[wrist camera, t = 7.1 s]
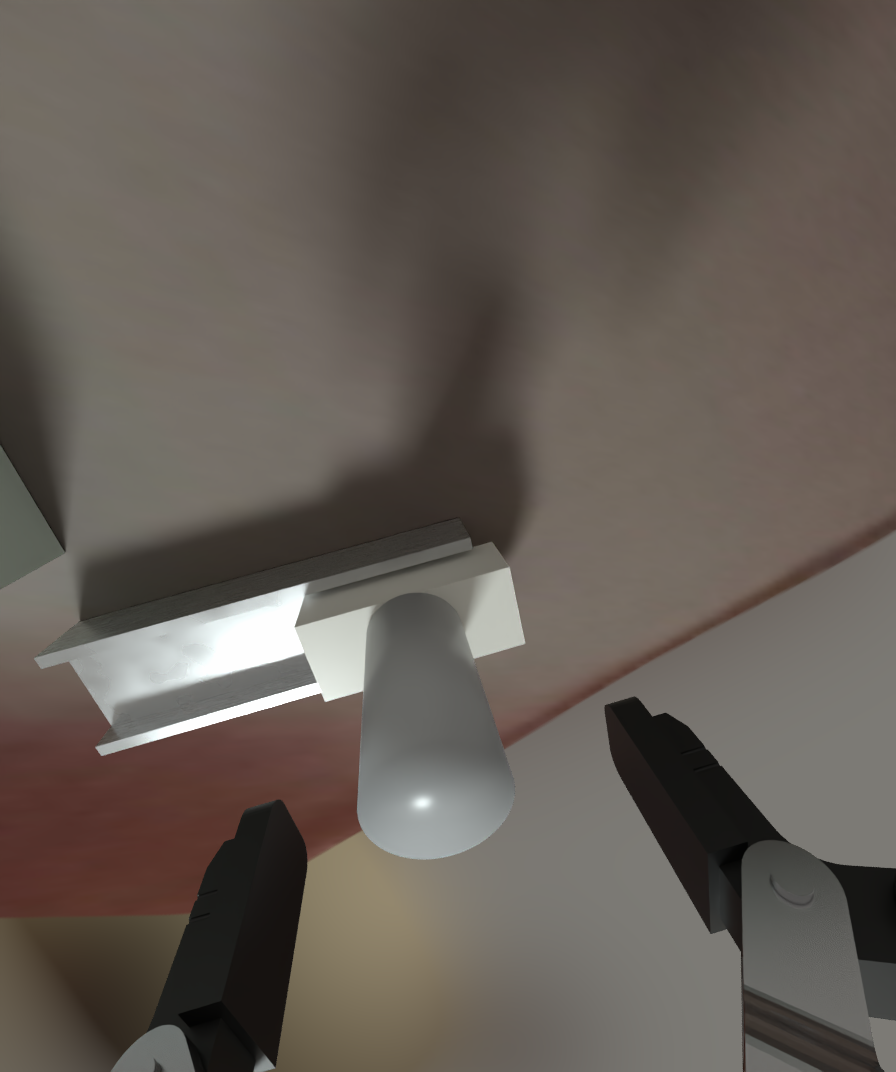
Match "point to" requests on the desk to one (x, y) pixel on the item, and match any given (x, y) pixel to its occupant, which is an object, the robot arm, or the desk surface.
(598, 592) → the desk surface
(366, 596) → the carriage
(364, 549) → the rail
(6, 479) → the button housing
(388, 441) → the desk surface
